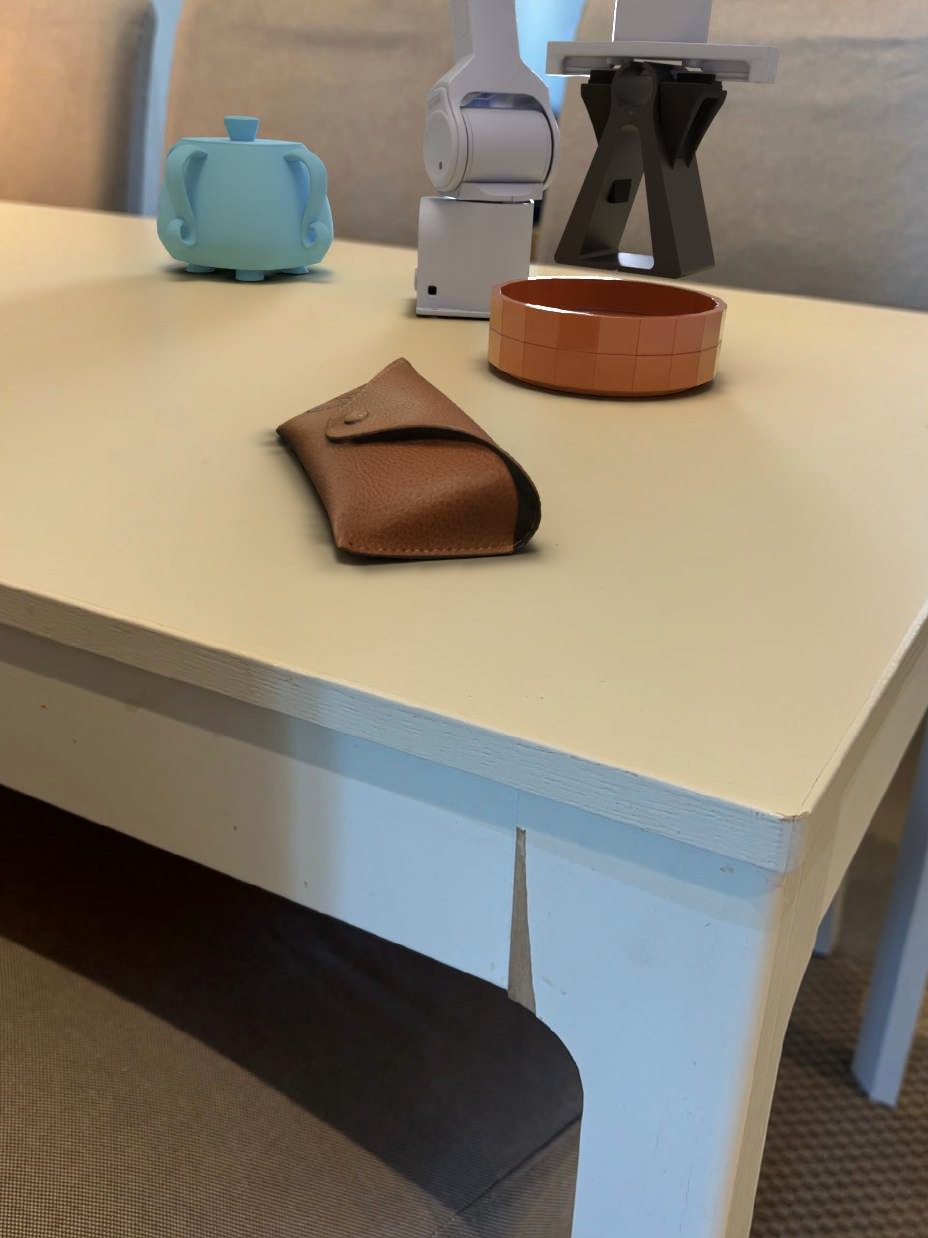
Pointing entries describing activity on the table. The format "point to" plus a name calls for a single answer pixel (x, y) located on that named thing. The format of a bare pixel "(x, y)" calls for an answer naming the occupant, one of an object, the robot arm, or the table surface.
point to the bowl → (605, 335)
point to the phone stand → (670, 193)
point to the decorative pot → (244, 203)
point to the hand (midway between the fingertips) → (641, 204)
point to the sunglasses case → (412, 473)
